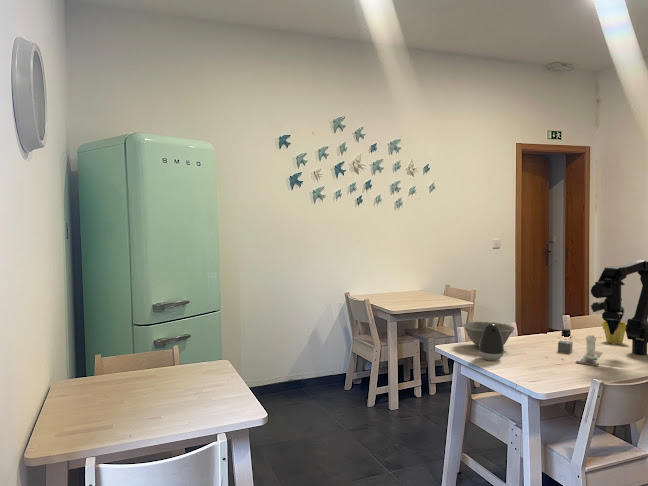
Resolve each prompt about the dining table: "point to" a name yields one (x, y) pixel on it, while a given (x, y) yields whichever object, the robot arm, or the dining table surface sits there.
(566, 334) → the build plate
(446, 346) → the dining table surface
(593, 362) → the board
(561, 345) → the grey cube
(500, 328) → the ceramic bowl
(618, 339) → the plant pot
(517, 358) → the dining table surface
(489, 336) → the dark grey egg shape
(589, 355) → the pawn
